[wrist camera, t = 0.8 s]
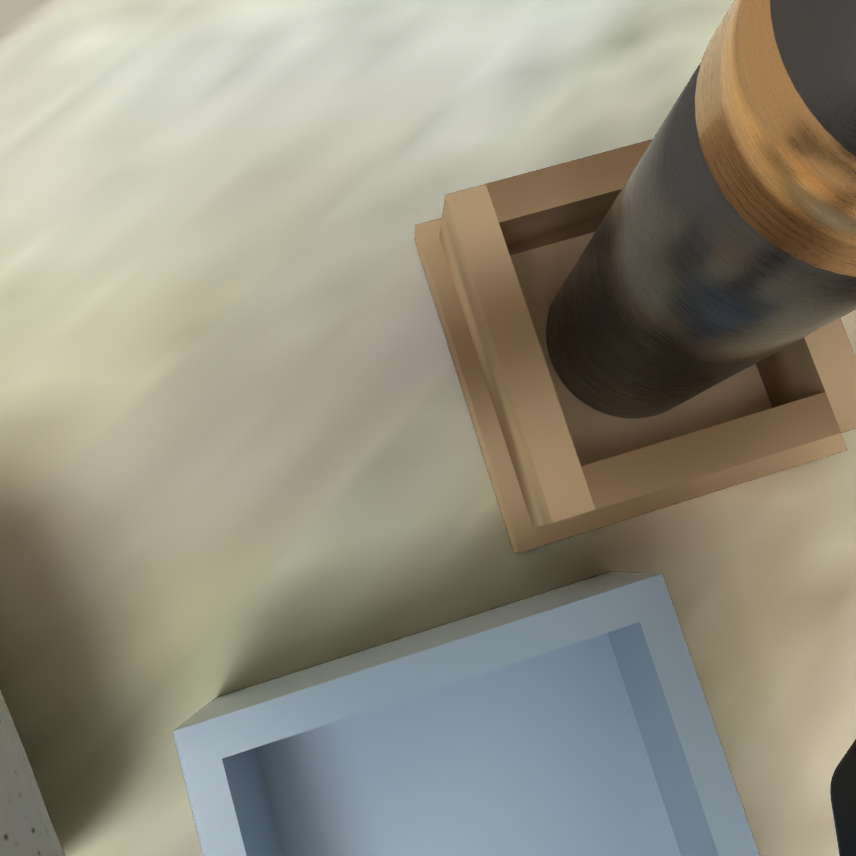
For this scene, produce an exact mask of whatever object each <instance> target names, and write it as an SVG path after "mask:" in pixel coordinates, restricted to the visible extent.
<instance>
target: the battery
mask: <svg viewBox="0 0 856 856" xmlns="http://www.w3.org/2000/svg"><path fill="white" fill-rule="evenodd" d="M855 309H856V0H735V1H734V2H733V4H732V6H731V7H730V9H729V11H728V12H727V14H726V15H725V17H724V19H723V20H722V22H721V24H720V25H719V27H718V28H717V30H716V32H715V33H714V35H713V37H712V38H711V40H710V42H709V44H708V46H707V49H706V51H705V53H704V56H703V58H702V61H701V63H700V65H699V66H698V68H697V69H696V71H695V73H694V74H693V76H692V77H691V79H690V81H689V82H688V84H687V85H686V87H685V89H684V90H683V92H682V93H681V95H680V97H679V98H678V100H677V102H676V103H675V105H674V106H673V108H672V110H671V111H670V113H669V114H668V116H667V118H666V119H665V121H664V122H663V124H662V126H661V127H660V129H659V131H658V132H657V134H656V135H655V137H654V139H653V140H652V142H651V143H650V145H649V147H648V148H647V150H646V151H645V153H644V155H643V156H642V158H641V159H640V161H639V163H638V164H637V166H636V168H635V169H634V171H633V172H632V174H631V176H630V177H629V179H628V180H627V182H626V184H625V185H624V187H623V188H622V190H621V192H620V193H619V195H618V196H617V198H616V200H615V201H614V203H613V205H612V206H611V208H610V209H609V211H608V213H607V214H606V216H605V217H604V219H603V221H602V222H601V224H600V225H599V227H598V229H597V230H596V232H595V234H594V235H593V237H592V238H591V240H590V242H589V243H588V245H587V246H586V248H585V250H584V251H583V253H582V254H581V256H580V258H579V259H578V261H577V262H576V264H575V266H574V267H573V269H572V271H571V272H570V274H569V275H568V277H567V279H566V280H565V282H564V283H563V285H562V287H561V288H560V290H559V291H558V293H557V295H556V296H555V298H554V300H553V303H552V305H551V307H550V311H549V314H548V318H547V325H546V341H547V349H548V353H549V356H550V360H551V362H552V365H553V367H554V370H555V371H556V373H557V375H558V377H559V378H560V380H561V381H562V382H563V384H564V385H565V386H566V388H567V389H568V390H569V391H570V392H571V393H572V394H573V395H574V396H575V397H576V398H578V399H579V400H580V401H582V402H583V403H584V404H586V405H588V406H589V407H591V408H593V409H595V410H597V411H599V412H601V413H604V414H607V415H611V416H614V417H620V418H631V419H637V418H647V417H651V416H656V415H659V414H661V413H664V412H667V411H669V410H671V409H672V408H674V407H676V406H678V405H680V404H682V403H683V402H685V401H687V400H689V399H691V398H693V397H695V396H696V395H698V394H700V393H702V392H704V391H706V390H707V389H709V388H711V387H713V386H715V385H717V384H719V383H720V382H722V381H724V380H726V379H728V378H730V377H731V376H733V375H735V374H737V373H739V372H741V371H743V370H744V369H746V368H748V367H750V366H752V365H754V364H755V363H757V362H759V361H761V360H763V359H765V358H767V357H768V356H770V355H772V354H774V353H776V352H778V351H780V350H781V349H783V348H785V347H787V346H789V345H791V344H792V343H794V342H796V341H798V340H800V339H802V338H804V337H805V336H807V335H809V334H811V333H813V332H815V331H816V330H818V329H820V328H822V327H824V326H826V325H828V324H829V323H831V322H833V321H835V320H837V319H839V318H840V317H842V316H844V315H846V314H848V313H850V312H852V311H853V310H855Z"/></svg>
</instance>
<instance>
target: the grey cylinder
mask: <svg viewBox="0 0 856 856" xmlns="http://www.w3.org/2000/svg"><path fill="white" fill-rule="evenodd" d="M0 856H65V854H64V851H63V849H62V847H61V844H60V842H59V839H58V837H57V834H56V832H55V830H54V827H53V825H52V822H51V820H50V817H49V815H48V812H47V809H46V806H45V804H44V801H43V798H42V795H41V792H40V790H39V787H38V784H37V781H36V779H35V776H34V773H33V770H32V768H31V765H30V763H29V760H28V757H27V755H26V752H25V750H24V747H23V745H22V742H21V740H20V737H19V735H18V732H17V730H16V727H15V725H14V722H13V719H12V717H11V714H10V712H9V710H8V707H7V705H6V702H5V700H4V697H3V695H2V693H1V690H0Z"/></svg>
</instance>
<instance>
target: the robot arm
mask: <svg viewBox="0 0 856 856" xmlns="http://www.w3.org/2000/svg"><path fill="white" fill-rule="evenodd" d="M831 802H832V808H833V815H834V822H835V828H836V835H837V841H838V848H839V854H840V856H856V740H855V741H854V743H853V744H852V745H851V747H850V748H849V750H848V751H847V753H846V754H845V756H844V757H843V759H842V760H841V762H840V763H839V765H838V766H837V767H836V769H835V771H834V774H833V777H832V781H831Z"/></svg>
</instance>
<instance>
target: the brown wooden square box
mask: <svg viewBox="0 0 856 856" xmlns="http://www.w3.org/2000/svg"><path fill="white" fill-rule="evenodd" d="M652 140H653V139H652ZM652 140H648V141H645V142H641V143H637V144H633V145H630V146H626V147H622V148H618V149H615V150H611V151H607V152H603V153H600V154H596V155H592V156H589V157H585V158H581V159H577V160H574V161H570V162H566V163H562V164H559V165H555V166H551V167H548V168H544V169H540V170H536V171H533V172H529V173H525V174H521V175H518V176H514V177H510V178H507V179H503V180H499V181H495V182H492V183H488V184H484V185H480V186H477V187H473V188H469V189H465V190H462V191H458V192H454V193H451V194H447V195H445V201H444V208H443V214H442V218H441V219H437V220H433V221H430V222H426V223H422V224H419V225H416V227H415V243H416V246H417V250H418V253H419V256H420V259H421V262H422V265H423V268H424V272H425V275H426V278H427V281H428V284H429V287H430V290H431V293H432V297H433V300H434V303H435V306H436V309H437V312H438V315H439V319H440V322H441V325H442V328H443V331H444V334H445V337H446V340H447V344H448V347H449V350H450V353H451V356H452V359H453V362H454V366H455V369H456V372H457V375H458V378H459V381H460V384H461V387H462V391H463V394H464V397H465V400H466V403H467V406H468V409H469V413H470V416H471V419H472V422H473V425H474V428H475V431H476V434H477V438H478V441H479V444H480V447H481V450H482V453H483V456H484V460H485V463H486V466H487V469H488V472H489V475H490V478H491V481H492V485H493V488H494V491H495V494H496V497H497V500H498V503H499V507H500V510H501V513H502V516H503V519H504V522H505V525H506V528H507V532H508V535H509V538H510V541H511V544H512V547H513V550H514V553H521V552H524V551H527V550H530V549H534V548H537V547H540V546H543V545H546V544H550V543H553V542H556V541H559V540H562V539H565V538H569V537H572V536H575V535H578V534H581V533H585V532H588V531H591V530H594V529H597V528H600V527H604V526H607V525H610V524H613V523H616V522H620V521H623V520H626V519H629V518H632V517H635V516H639V515H642V514H645V513H648V512H651V511H655V510H658V509H661V508H664V507H667V506H671V505H674V504H677V503H680V502H683V501H686V500H690V499H693V498H696V497H699V496H702V495H706V494H709V493H712V492H715V491H718V490H721V489H725V488H728V487H731V486H734V485H737V484H741V483H744V482H747V481H750V480H753V479H756V478H760V477H763V476H766V475H769V474H772V473H776V472H779V471H782V470H785V469H788V468H791V467H795V466H798V465H801V464H804V463H807V462H811V461H814V460H817V459H820V458H823V457H827V456H830V455H833V454H836V453H839V452H842V451H846V450H847V448H846V446H845V443H844V441H843V438H842V435H841V433H843V432H846V431H849V430H852V429H856V357H855V354H854V352H853V349H852V347H851V344H850V342H849V339H848V336H847V334H846V331H845V329H844V326H843V324H842V321H841V319H840V318H839V319H837V320H835V321H833V322H831V323H829V324H828V325H826V326H824V327H822V328H820V329H818V330H816V331H815V332H813V333H811V334H809V335H807V336H805V337H804V338H802V339H800V340H798V341H796V342H794V343H792V344H791V345H789V346H787V347H785V348H783V349H781V350H780V351H778V352H776V353H774V354H772V355H770V356H768V357H767V358H765V359H763V360H761V361H759V362H757V363H755V364H754V365H752V366H750V367H748V368H746V369H744V370H743V371H741V372H739V373H737V374H735V375H733V376H731V377H730V378H728V379H726V380H724V381H722V382H720V383H719V384H717V385H715V386H713V387H711V388H709V389H707V390H706V391H704V392H702V393H700V394H698V395H696V396H695V397H693V398H691V399H689V400H687V401H685V402H683V403H682V404H680V405H678V406H676V407H674V408H672V409H671V410H669V411H667V412H664V413H661V414H659V415H656V416H651V417H647V418H637V419H631V418H620V417H614V416H611V415H607V414H604V413H601V412H599V411H597V410H595V409H593V408H591V407H589V406H588V405H586V404H584V403H583V402H582V401H580V400H579V399H578V398H576V397H575V396H574V395H573V394H572V393H571V392H570V391H569V390H568V389H567V388H566V386H565V385H564V384H563V382H562V381H561V380H560V378H559V377H558V375H557V373H556V371H555V370H554V367H553V365H552V362H551V360H550V356H549V353H548V349H547V341H546V325H547V318H548V314H549V311H550V307H551V305H552V303H553V300H554V298H555V296H556V295H557V293H558V291H559V290H560V288H561V287H562V285H563V283H564V282H565V280H566V279H567V277H568V275H569V274H570V272H571V271H572V269H573V267H574V266H575V264H576V262H577V261H578V259H579V258H580V256H581V254H582V253H583V251H584V250H585V248H586V246H587V245H588V243H589V242H590V240H591V238H592V237H593V235H594V234H595V232H596V230H597V229H598V227H599V225H600V224H601V222H602V221H603V219H604V217H605V216H606V214H607V213H608V211H609V209H610V208H611V206H612V205H613V203H614V201H615V200H616V198H617V196H618V195H619V193H620V192H621V190H622V188H623V187H624V185H625V184H626V182H627V180H628V179H629V177H630V176H631V174H632V172H633V171H634V169H635V168H636V166H637V164H638V163H639V161H640V159H641V158H642V156H643V155H644V153H645V151H646V150H647V148H648V147H649V145H650V143H651V142H652Z"/></svg>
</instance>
